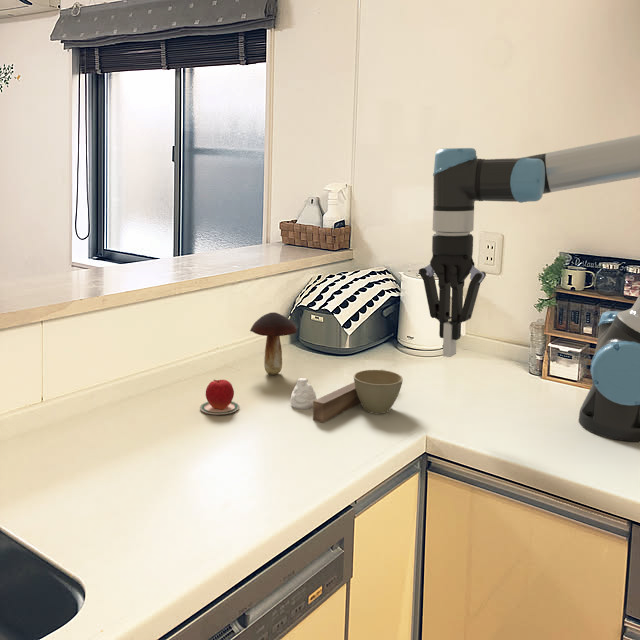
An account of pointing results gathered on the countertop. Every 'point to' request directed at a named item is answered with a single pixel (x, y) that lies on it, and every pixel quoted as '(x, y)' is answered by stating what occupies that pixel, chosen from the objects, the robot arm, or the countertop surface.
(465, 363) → the countertop surface
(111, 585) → the countertop surface
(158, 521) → the countertop surface
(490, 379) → the countertop surface
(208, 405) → the apple
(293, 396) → the garlic bulb
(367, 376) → the flower pot
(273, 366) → the decorative mushroom
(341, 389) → the board
